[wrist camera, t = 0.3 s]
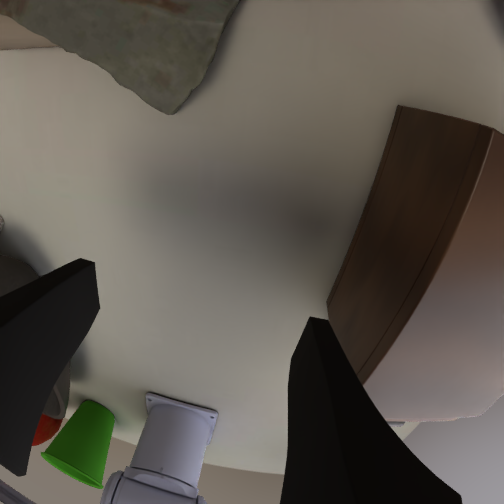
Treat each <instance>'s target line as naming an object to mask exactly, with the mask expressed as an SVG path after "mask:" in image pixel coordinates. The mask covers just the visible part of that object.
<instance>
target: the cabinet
mask: <svg viewBox="0 0 504 504" xmlns="http://www.w3.org/2000/svg"><path fill="white" fill-rule="evenodd" d="M327 309H328V317H329V323H330V325H331V327H332V329H333V331H334V333H335V335H336V337H337V339H338V341H339V343H340V345H341V347H342V349H343V351H344V353H345V354H346V356H347V358H348V360H349V362H350V364H351V366H352V368H353V369H354V371H355V373H356V375H357V377H358V379H359V380H360V382H361V384H362V385H363V387H364V389H365V390H366V392H367V394H368V395H369V397H370V399H371V400H372V402H373V403H374V405H375V406H376V408H377V409H378V411H379V412H380V413H381V415H382V416H383V417H384V418H389V419H443V418H462V417H476V416H481V415H482V414H483V413H484V412H485V411H486V410H488V408H490V407H491V406H492V405H493V404H494V403H495V402H496V401H497V400H498V398H500V397H501V396H502V395H503V394H504V135H503V134H502V133H500V132H499V131H497V130H496V129H494V128H491V127H488V126H485V125H481V124H479V123H475V122H472V121H468V120H464V119H461V118H457V117H453V116H449V115H445V114H440V113H436V112H431V111H427V110H422V109H417V108H411V107H406V106H401V105H398V107H397V110H396V114H395V117H394V121H393V124H392V128H391V131H390V134H389V137H388V141H387V144H386V147H385V150H384V153H383V156H382V160H381V163H380V166H379V169H378V172H377V175H376V178H375V180H374V183H373V186H372V189H371V192H370V195H369V197H368V200H367V203H366V206H365V208H364V211H363V214H362V217H361V219H360V222H359V224H358V227H357V230H356V232H355V235H354V237H353V240H352V242H351V245H350V247H349V250H348V252H347V255H346V257H345V260H344V262H343V265H342V267H341V269H340V272H339V274H338V276H337V279H336V281H335V283H334V286H333V288H332V290H331V293H330V295H329V297H328V299H327Z"/></svg>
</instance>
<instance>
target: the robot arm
mask: <svg viewBox="0 0 504 504" xmlns="http://www.w3.org/2000/svg"><path fill="white" fill-rule="evenodd" d="M99 309H100V304H99V296H98V288H97V280H96V271H95V262H92V261H88V260H85V259H82V258H80V259H77V260H75V261H72V262H70V263H68V264H66V265H64V266H62V267H60V268H58V269H56V270H54V271H52V272H50V273H48V274H46V275H44V276H42V277H40V278H38V279H36V280H34V281H32V282H30V283H28V284H26V285H24V286H22V287H20V288H18V289H15V290H13V291H11V292H9V293H7V294H5V295H3V296H1V297H0V464H1V465H2V466H4V467H5V468H6V469H8V470H9V471H11V472H12V473H13V474H15V475H16V476H24V475H26V472H27V466H28V460H29V456H30V451H31V446H32V443H33V440H34V436H35V433H36V430H37V426H38V424H39V421H40V418H41V415H42V413H43V410H44V407H45V405H46V403H47V400H48V398H49V396H50V394H51V391H52V389H53V387H54V385H55V383H56V381H57V380H58V378H59V376H60V374H61V373H62V371H63V370H64V368H65V367H66V365H67V363H68V362H69V360H70V359H71V357H72V356H73V354H74V353H75V351H76V350H77V348H78V347H79V345H80V344H81V342H82V341H83V339H84V338H85V336H86V334H87V333H88V331H89V329H90V327H91V326H92V324H93V322H94V320H95V318H96V316H97V313H98V311H99ZM146 404H147V412H148V418H147V420H146V423H145V426H144V428H143V431H142V434H141V436H140V439H139V442H138V445H137V447H136V450H135V453H134V456H133V458H132V461H131V464H130V467H128V466H126V468H125V471H124V472H123V471H121V470H119V471H117V472H115V473H112V474H111V476H110V477H109V479H108V481H107V483H106V485H105V488H104V491H103V494H102V497H101V502H100V504H207V503H206V501H205V500H204V498H203V497H202V496H199V495H198V496H197V494H198V490H199V489H198V488H197V484H198V479H199V475H200V471H201V466H202V462H203V458H204V454H205V449H206V445H209V444H210V441H211V437H212V434H213V430H214V427H215V423H216V419H217V416H218V413H217V412H216V411H213V410H209V409H205V408H201V407H197V406H193V405H189V404H186V403H182V402H179V401H175V400H172V399H168V398H165V397H162V396H159V395H155V394H152V393H146ZM0 501H1V502H3V503H4V504H36V503H35V502H33V501H31V500H30V499H28V498H26V497H25V496H23V495H22V494H20V493H19V492H17V491H16V490H15V489H13V488H12V487H10V486H9V485H7V484H6V483H5V482H3V481H2V480H0ZM280 504H462V498H461V495H460V494H458V493H457V492H456V491H454V490H453V489H452V488H451V487H449V486H448V485H447V484H446V483H444V482H443V481H442V480H441V479H439V478H438V477H437V476H436V475H435V474H434V473H433V472H432V471H430V470H429V469H428V468H427V467H426V466H425V465H424V464H423V463H422V462H421V461H420V460H419V459H418V458H417V457H416V456H415V455H414V454H413V453H412V452H411V451H410V449H409V448H408V447H407V446H406V445H405V444H404V443H403V441H402V440H401V439H400V438H399V437H398V436H397V434H396V433H395V432H394V431H393V429H392V428H391V427H390V426H389V424H388V423H387V421H386V420H385V419H384V417H383V416H382V415H381V413H380V412H379V411H378V409H377V408H376V406H375V405H374V403H373V402H372V400H371V399H370V397H369V395H368V394H367V392H366V390H365V389H364V387H363V385H362V384H361V382H360V380H359V379H358V377H357V375H356V373H355V371H354V369H353V368H352V366H351V364H350V362H349V360H348V358H347V356H346V354H345V353H344V351H343V349H342V347H341V345H340V343H339V341H338V339H337V337H336V335H335V333H334V331H333V329H332V327H331V325H330V323H329V321H328V320H325V319H320V318H315V317H309V319H308V322H307V324H306V326H305V329H304V331H303V333H302V335H301V338H300V340H299V342H298V344H297V347H296V349H295V351H294V353H293V355H292V358H291V364H290V372H289V381H288V450H287V461H286V468H285V475H284V482H283V488H282V494H281V500H280Z"/></svg>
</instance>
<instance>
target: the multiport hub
mask: <svg viewBox="0 0 504 504" xmlns="http://www.w3.org/2000/svg"><path fill="white" fill-rule="evenodd" d="M3 224H4V221H3V219H2V217H1V216H0V232H1V230H2V227H3Z"/></svg>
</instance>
